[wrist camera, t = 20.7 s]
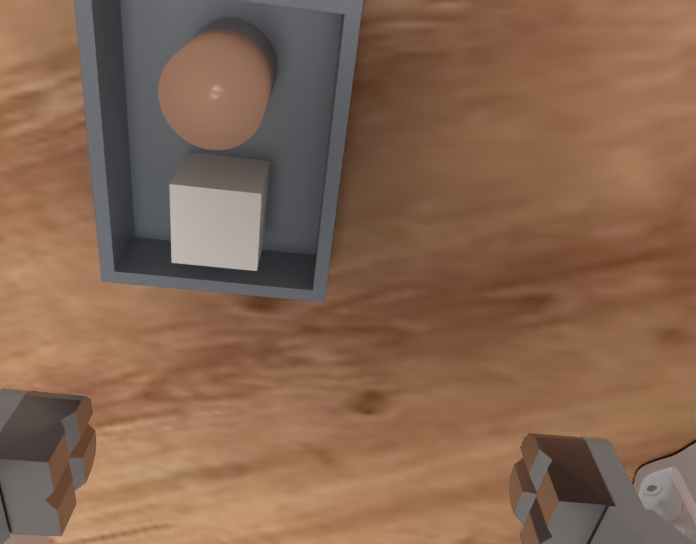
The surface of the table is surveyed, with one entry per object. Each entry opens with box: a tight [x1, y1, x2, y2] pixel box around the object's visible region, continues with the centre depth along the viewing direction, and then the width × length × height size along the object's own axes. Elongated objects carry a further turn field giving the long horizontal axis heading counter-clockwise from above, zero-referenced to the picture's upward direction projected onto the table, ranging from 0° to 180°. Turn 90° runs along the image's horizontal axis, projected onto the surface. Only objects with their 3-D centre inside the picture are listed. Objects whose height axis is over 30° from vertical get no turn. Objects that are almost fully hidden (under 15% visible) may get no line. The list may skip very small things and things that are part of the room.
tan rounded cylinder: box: [158, 18, 277, 150], centre depth 32 cm, size 5×5×7 cm
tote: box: [74, 0, 363, 302], centre depth 35 cm, size 18×14×5 cm
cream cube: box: [169, 152, 270, 271], centre depth 37 cm, size 5×5×5 cm
